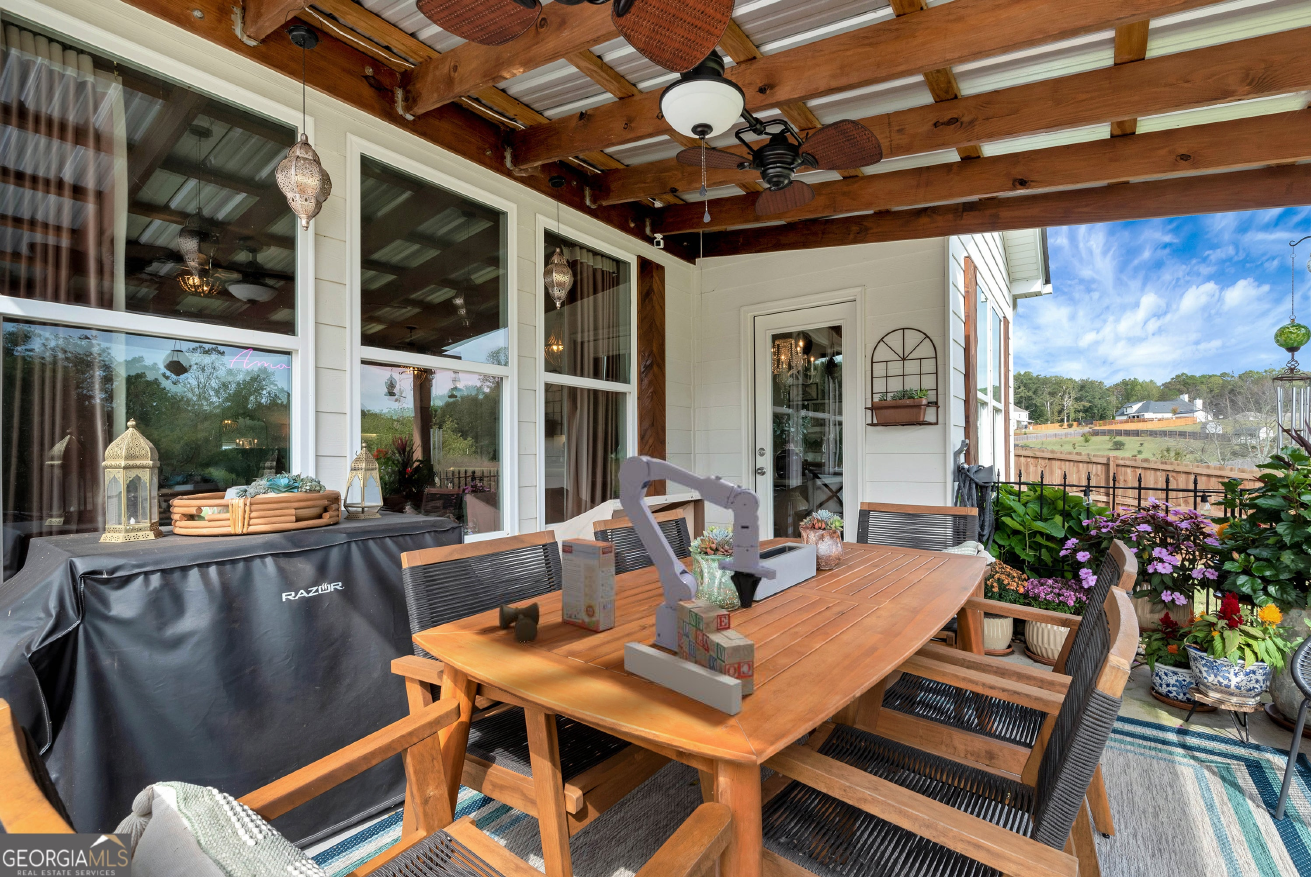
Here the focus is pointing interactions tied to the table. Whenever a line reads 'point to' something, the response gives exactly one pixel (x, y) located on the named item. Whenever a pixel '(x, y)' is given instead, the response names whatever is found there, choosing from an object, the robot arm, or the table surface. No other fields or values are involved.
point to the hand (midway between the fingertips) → (746, 607)
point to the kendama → (521, 620)
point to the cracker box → (588, 583)
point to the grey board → (684, 677)
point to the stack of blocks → (714, 642)
